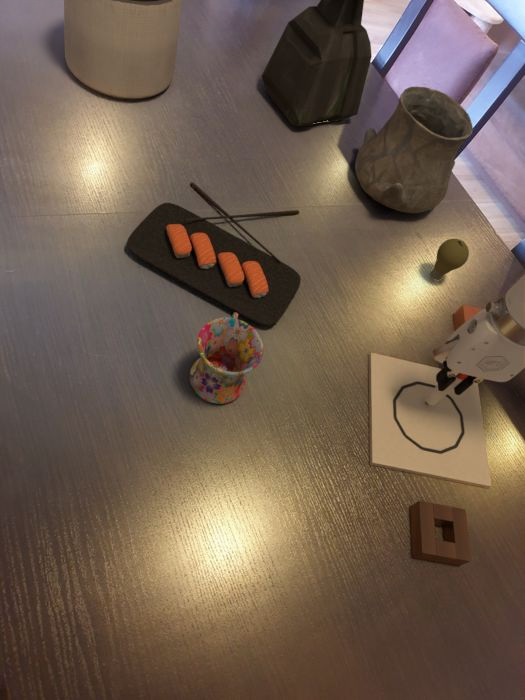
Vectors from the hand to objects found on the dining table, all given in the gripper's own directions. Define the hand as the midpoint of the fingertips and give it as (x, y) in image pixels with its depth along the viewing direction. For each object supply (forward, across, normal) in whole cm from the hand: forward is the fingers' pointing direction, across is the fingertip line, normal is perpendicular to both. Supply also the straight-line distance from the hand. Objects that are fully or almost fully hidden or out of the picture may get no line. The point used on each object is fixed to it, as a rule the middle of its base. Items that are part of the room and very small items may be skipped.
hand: (448, 384), depth 88 cm
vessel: (+8, -5, +52) cm, 53 cm away
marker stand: (+8, 0, -22) cm, 23 cm away
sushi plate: (+8, -36, +26) cm, 45 cm away
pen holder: (+8, +11, +18) cm, 22 cm away
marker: (+7, 0, 0) cm, 7 cm away
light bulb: (+8, +4, +30) cm, 31 cm away
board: (+8, 0, -2) cm, 8 cm away
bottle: (+8, -25, +72) cm, 77 cm away
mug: (+8, -35, -2) cm, 36 cm away
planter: (+8, -66, +66) cm, 93 cm away
